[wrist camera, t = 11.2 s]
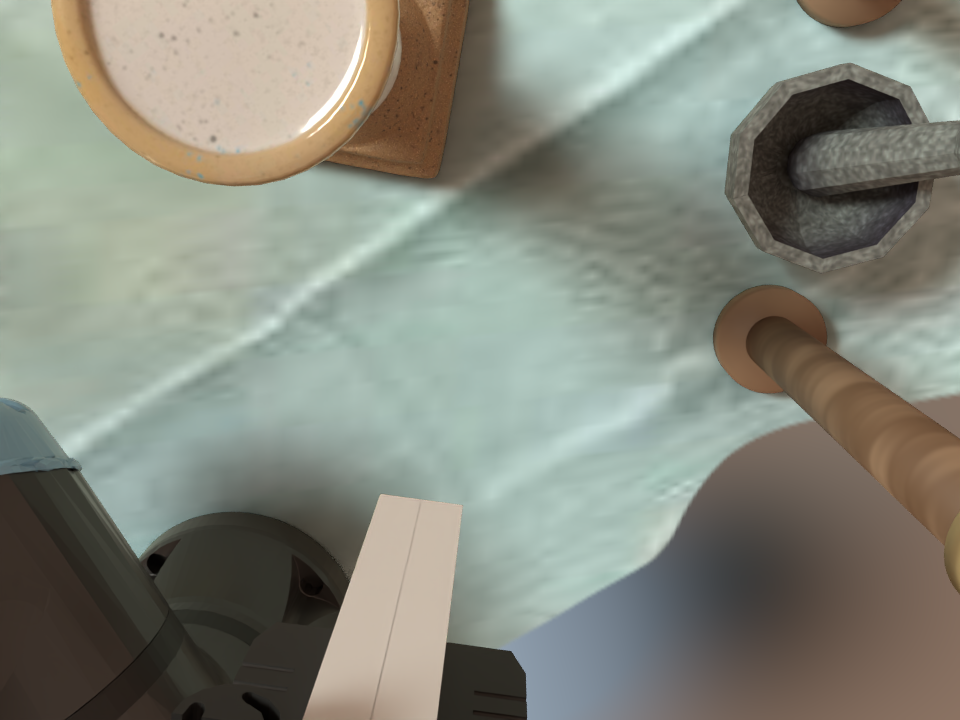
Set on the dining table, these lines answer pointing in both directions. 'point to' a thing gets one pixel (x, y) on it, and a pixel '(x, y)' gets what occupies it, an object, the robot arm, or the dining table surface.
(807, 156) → the mortar and pestle
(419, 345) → the dining table surface
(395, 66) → the candle holder
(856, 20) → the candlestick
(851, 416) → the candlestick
